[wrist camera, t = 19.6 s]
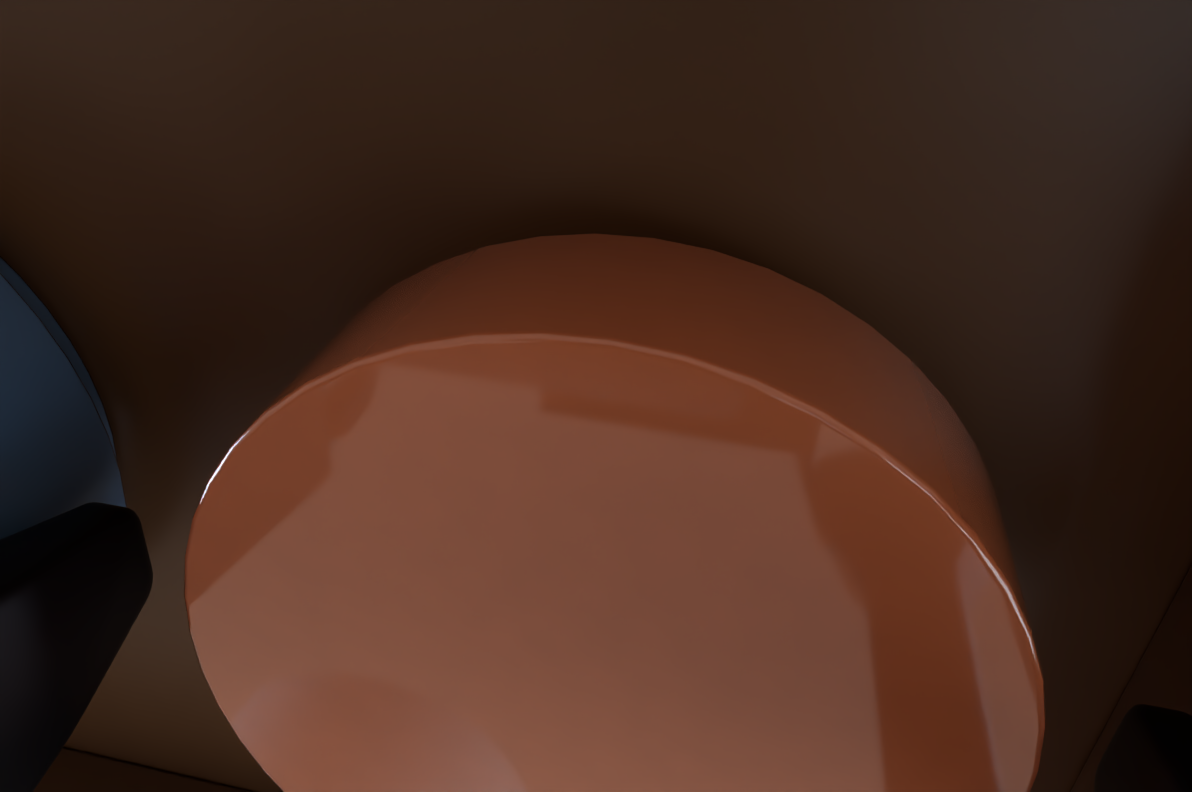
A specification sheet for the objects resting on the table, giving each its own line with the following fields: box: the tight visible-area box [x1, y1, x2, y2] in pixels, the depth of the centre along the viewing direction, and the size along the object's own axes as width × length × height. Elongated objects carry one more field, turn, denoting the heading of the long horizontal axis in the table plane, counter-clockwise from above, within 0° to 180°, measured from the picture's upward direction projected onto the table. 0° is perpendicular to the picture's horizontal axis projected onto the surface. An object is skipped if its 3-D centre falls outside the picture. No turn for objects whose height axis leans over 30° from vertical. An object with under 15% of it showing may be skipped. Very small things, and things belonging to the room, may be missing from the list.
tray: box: [0, 0, 1192, 792], centre depth 10 cm, size 20×13×3 cm, turn 86°
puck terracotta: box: [184, 234, 1046, 792], centre depth 9 cm, size 7×7×2 cm
